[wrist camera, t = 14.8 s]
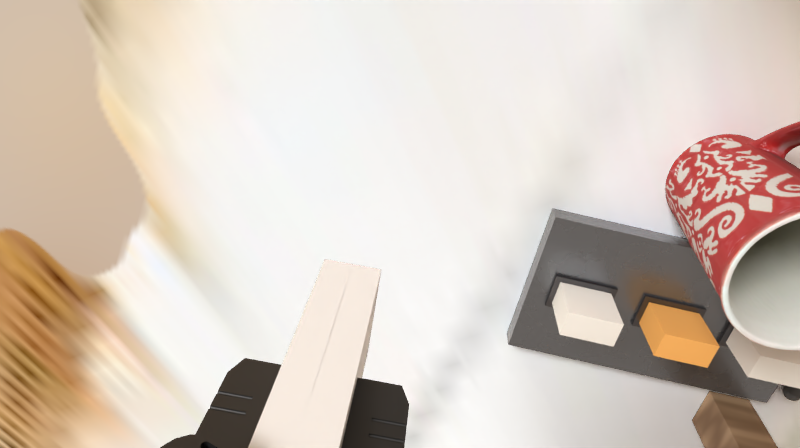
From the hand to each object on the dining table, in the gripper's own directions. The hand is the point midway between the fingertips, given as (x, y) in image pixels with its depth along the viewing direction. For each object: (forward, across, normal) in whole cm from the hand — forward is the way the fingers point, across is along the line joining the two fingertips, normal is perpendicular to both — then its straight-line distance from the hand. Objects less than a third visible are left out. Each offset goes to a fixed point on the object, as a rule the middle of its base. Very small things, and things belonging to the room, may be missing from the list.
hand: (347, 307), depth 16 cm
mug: (+29, +23, -3) cm, 37 cm away
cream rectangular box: (+27, +29, -16) cm, 43 cm away
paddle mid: (+27, +22, -15) cm, 38 cm away
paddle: (+27, +15, -15) cm, 34 cm away
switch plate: (+29, +22, -15) cm, 39 cm away
